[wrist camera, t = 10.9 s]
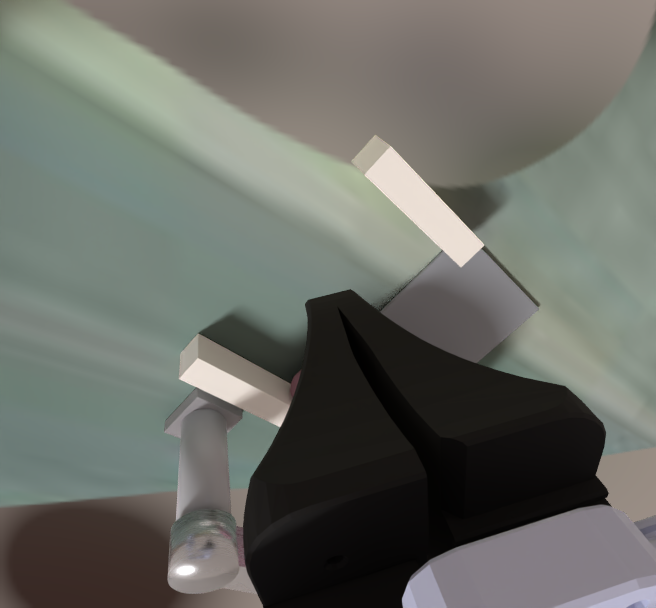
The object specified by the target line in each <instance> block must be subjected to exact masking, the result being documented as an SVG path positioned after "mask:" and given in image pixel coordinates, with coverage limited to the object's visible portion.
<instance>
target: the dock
mask: <svg viewBox="0 0 656 608" xmlns="http://www.w3.org/2000/svg"><path fill="white" fill-rule="evenodd" d="M352 163H353V164H354V165H355V166H356V167H357V168H358V169H359V170H360V171H361V172H362V173H363V174H364V175H365V176H366V177H367V178H368V179H369V180H370V181H371V182H372V183H373V184H374V185H375V186H377V187H378V188H379V189H380V190H381V191H382V192H383V193H384V194H385V195H386V196H387V197H388V198H389V199H390V200H391V201H392V202H393V203H394V204H395V205H396V206H397V207H398V208H399V209H400V210H401V211H403V212H404V213H405V214H406V215H407V216H408V217H409V218H410V219H411V220H412V221H413V222H414V223H415V224H416V225H417V226H418V227H419V228H420V229H421V230H422V231H423V232H424V233H425V234H426V235H427V236H429V237H430V238H431V239H432V240H433V241H434V242H435V243H436V244H437V245H438V246H439V247H440V248H441V249H442V250H443V251H444V252H445V253H446V254H447V255H448V256H449V257H450V258H451V259H452V260H453V261H455V262H456V263H457V264H458V265H459V266H460V267H462V266H463V265H464V264H465V263H466V262H467V261H469V260H470V259H471V258H472V257H473V256H474V255H475V254H476V253H477V252H478V251H479V250H480V249H481V248H482V247H483V246H484V244H483V243H482V242H481V241H480V240H479V239H478V237H477V236H476V235H475V234H474V233H473V232H472V231H471V230H470V229H469V228H468V227H467V226H466V225H465V224H464V223H463V222H462V221H461V220H460V218H459V217H458V216H457V215H456V214H455V213H454V212H453V211H452V210H451V209H450V208H449V207H448V206H447V205H446V204H445V203H444V202H443V200H442V199H441V198H440V197H439V196H438V195H437V194H436V193H435V192H434V191H433V190H432V189H431V188H430V187H429V186H428V185H427V184H426V183H425V181H424V180H423V179H422V178H421V177H420V176H419V175H418V174H417V173H416V172H415V171H414V170H413V169H412V168H411V167H410V166H409V165H408V164H407V163H406V161H405V160H404V159H403V158H402V157H401V156H400V155H399V154H398V153H397V152H396V151H395V150H394V149H393V148H392V147H391V146H390V145H389V144H387V143H386V142H385V141H383V140H382V139H381V138H379V137H378V136H377V135H374V136H373V138H372V139H371V140H370V141H369V142H368V143H367V144H366V146H365V147H364V148H363V149H362V150H361V151H360V152H359V153H358V155H357V156H356V157H355V158H354V159H353V160H352ZM179 379H180V380H182V381H184V382H187V383H189V384H191V385H193V386H195V387H197V388H196V389H195V390H194V391H193V392H192V393H191V394H190V395H189V396H188V397H187V398H186V399H185V400H184V401H183V403H182V404H181V405H180V406H179V407H178V408H177V409H176V410H175V411H174V412H173V413H172V414H171V415H170V416H169V418H168V419H167V420H166V421H165V428H164V432H165V433H168V434H170V435H173V436H175V437H178V438H180V457H179V476H178V495H177V513H176V521H177V520H178V519H179V518H180V517H182V516H184V515H186V514H188V513H190V512H193V511H196V510H201V509H219V510H223V511H226V512H228V513H230V514H231V501H230V483H229V465H228V446H227V433H228V432H229V431H230V430H231V429H232V428H233V427H234V426H235V425H236V424H237V423H238V422H239V421H240V420H241V419H242V418H243V416H242V409H243V410H245V411H248V412H250V413H252V414H254V415H256V416H258V417H260V418H262V419H264V420H266V421H269V422H271V423H273V424H275V425H277V426H279V427H281V425H282V423H283V421H284V419H285V416H286V414H287V412H288V409H289V407H290V404H291V401H292V399H293V398H292V396H291V393H290V387H291V384H290V383H288V382H286V381H285V380H283V379H281V378H279V377H277V376H275V375H274V374H272V373H270V372H268V371H266V370H264V369H263V368H261V367H259V366H257V365H255V364H253V363H252V362H250V361H248V360H246V359H244V358H243V357H241V356H239V355H237V354H235V353H233V352H232V351H230V350H228V349H226V348H224V347H222V346H221V345H219V344H217V343H215V342H213V341H211V340H210V339H208V338H206V337H204V336H202V335H200V334H199V333H198V334H197V335H196V336H195V338H194V339H193V340H192V341H191V342H190V343H189V344H188V345H187V346H186V348H185V349H184V350H183V351H182V352H181V355H180V370H179Z"/></svg>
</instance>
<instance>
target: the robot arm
mask: <svg viewBox="0 0 656 608" xmlns="http://www.w3.org/2000/svg"><path fill="white" fill-rule="evenodd" d="M305 307H306V312H307V317H308V331H307V341H306V349H305V354H304V359H303V364H302V369H301V373H300V377H299V380H298V384H297V387H296V390H295V393H294V396H293V399H292V401H291V404H290V407H289V409H288V412H287V414H286V416H285V419H284V421H283V423H282V425H281V427H280V429H279V431H278V433H277V435H276V437H275V439H274V441H273V443H272V445H271V446H270V448H269V450H268V452H267V453H266V455H265V456H264V458H263V459H262V461H261V463H260V464H259V466H258V467H257V469H256V471H255V472H254V474H253V475H252V477H251V479H250V484H249V489H248V494H247V499H246V505H245V512H244V523H243V546H244V558H245V565H246V570H247V574H248V576H249V578H250V580H251V582H252V584H253V586H254V588H255V590H256V592H257V594H258V596H259V598H260V600H261V602H262V604H263V608H656V515H655V516H652V517H649V518H646V519H643V520H640V521H637V522H634V523H633V522H632V521H631V520H630V519H629V517H628V516H627V515H626V513H625V512H623V511H620V510H618V509H616V508H613V507H612V506H611V505H610V504H609V503H608V501H607V500H606V499H605V498H606V497H607V496H608V491H607V489H606V487H605V486H604V485H603V484H602V482H601V481H600V480H599V479H598V478H597V476H596V472H597V469H598V465H599V462H600V459H601V456H602V452H603V449H604V445H605V437H606V431H605V428H604V425H603V423H602V422H601V421H600V420H599V419H598V418H597V417H596V416H595V415H594V414H593V413H592V412H591V410H590V409H589V408H588V407H587V406H586V405H585V404H584V403H583V402H582V401H581V400H580V399H579V398H578V397H577V396H576V395H575V394H573V393H572V392H571V391H570V390H569V389H568V388H567V387H566V386H562V385H557V384H552V383H547V382H543V381H538V380H533V379H528V378H523V377H519V376H516V375H512V374H509V373H505V372H502V371H498V370H495V369H492V368H488V367H485V366H482V365H479V364H477V363H474V362H471V361H469V360H466V359H463V358H461V357H458V356H456V355H453V354H451V353H449V352H447V351H444V350H442V349H440V348H438V347H436V346H434V345H432V344H430V343H428V342H426V341H424V340H422V339H420V338H419V337H417V336H415V335H414V334H412V333H410V332H409V331H407V330H405V329H404V328H402V327H401V326H399V325H398V324H396V323H395V322H393V321H392V320H390V319H389V318H388V317H386V316H385V315H383V314H382V313H381V312H379V311H378V310H377V309H375V308H374V307H373V306H371V305H370V304H369V303H368V302H366V301H365V300H364V299H363V298H361V297H360V296H359V295H358V294H356V293H355V292H354V291H352V290H351V289H350V290H346V291H342V292H338V293H334V294H330V295H326V296H322V297H318V298H314V299H310V300H308V301H307V302H306V304H305Z"/></svg>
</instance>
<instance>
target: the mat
mask: <svg viewBox="0 0 656 608" xmlns="http://www.w3.org/2000/svg"><path fill="white" fill-rule="evenodd" d="M537 310H539V308H538V307H537V306H536V305H535V304H534V303H533V302H532V301H531V300H530V298H529V297H528V296H527V295H526V294H525V293H524V292H523V291H522V290H521V289H520V288H519V287H518V286H517V285H516V284H515V283H514V282H513V281H512V280H511V279H510V278H509V277H508V276H507V275H506V273H505V272H504V271H503V270H502V269H501V268H500V267H499V266H498V265H497V264H496V263H495V262H494V261H493V260H492V259H491V258H490V257H489V256H488V255H487V254H486V253H485V252H484V251H483V250H482V248H481V249H480V250H479V251H478V252H477V253H476V254H475V255H474V256H473V257H472V258H471V259H470V260H469V261H467V262H466V263H465V264H464V265H463V266H462V267H460V266H459V265H458V264H457V263H456V262H455V261H453V260H452V259H451V258H450V257H449V256H448V255H447V254H446V253H445V252H444V251H442V252H441V253H439V254H438V255H437V256H436V257H435V258H434V259H433V260H432V261H431V262H430V263H429V264H428V265H427V266H426V267H425V268H424V269H423V270H422V271H421V272H420V273H419V274H418V275H417V276H416V277H415V278H414V279H413V280H412V281H411V282H410V283H409V284H408V285H407V286H406V287H405V288H404V289H403V290H402V291H401V292H400V293H399V294H398V295H396V296H395V297H394V298H393V299H392V300H391V301H390V302H389V303H388V304H387V305H386V306H385V307H384V308H383V309H382V310H381V311H380V312H381V313H382V314H383V315H385V316H386V317H388V318H389V319H390V320H392V321H393V322H395V323H396V324H398V325H399V326H401V327H402V328H404V329H405V330H407V331H409V332H410V333H412V334H414V335H415V336H417V337H419V338H420V339H422V340H424V341H426V342H428V343H430V344H432V345H434V346H436V347H438V348H440V349H442V350H444V351H447V352H449V353H451V354H453V355H456V356H458V357H461V358H463V359H466V360H469V361H471V362H474V363H478V362H479V361H480V360H481V359H482V358H483V357H484V356H486V355H487V354H488V353H489V352H490V351H491V350H493V349H494V348H495V347H496V346H497V345H498V344H499V343H501V342H502V341H503V340H504V339H505V338H506V337H508V336H509V335H510V334H511V333H512V332H513V331H514V330H516V329H517V328H518V327H519V326H520V325H521V324H522V323H524V322H525V321H526V320H527V319H528V318H529V317H531V316H532V315H533V314H534V313H535V312H536V311H537Z"/></svg>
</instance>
